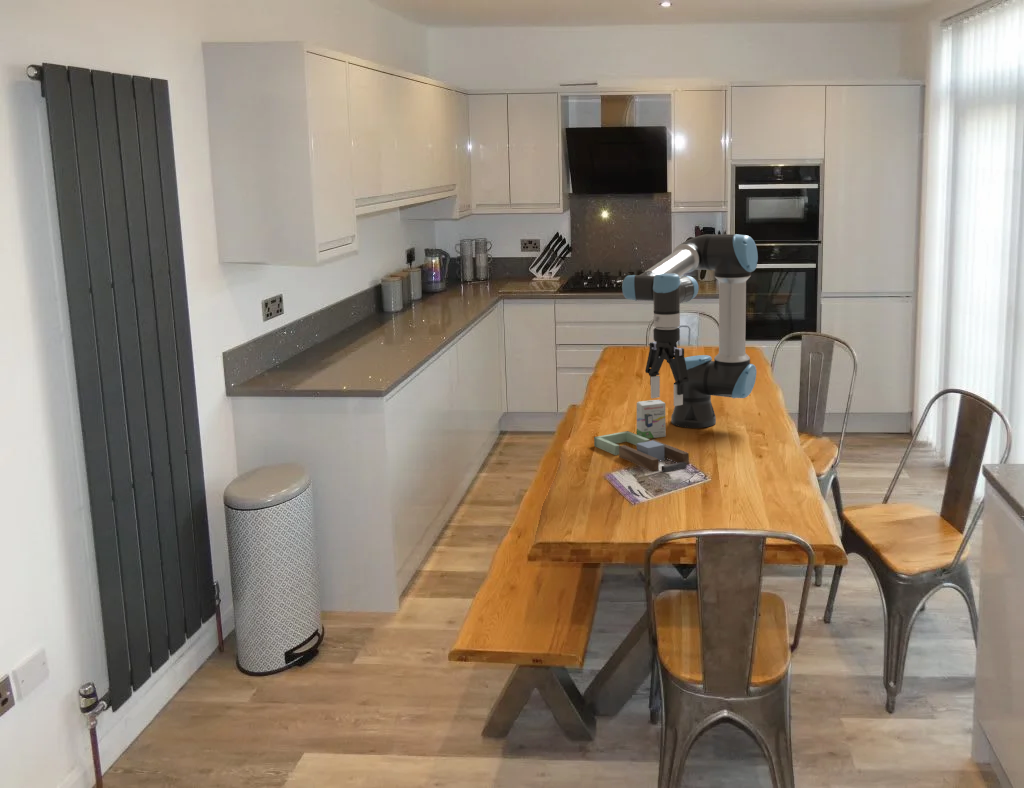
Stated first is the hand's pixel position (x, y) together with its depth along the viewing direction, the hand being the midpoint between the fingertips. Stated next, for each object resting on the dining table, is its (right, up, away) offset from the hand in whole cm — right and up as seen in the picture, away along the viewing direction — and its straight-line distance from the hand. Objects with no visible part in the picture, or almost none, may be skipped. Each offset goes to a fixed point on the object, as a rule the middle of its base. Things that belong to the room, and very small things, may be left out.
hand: (666, 401), depth 297 cm
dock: (-10, -15, +26) cm, 31 cm away
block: (-3, -18, +12) cm, 22 cm away
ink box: (+1, -12, +37) cm, 39 cm away
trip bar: (+2, -20, +1) cm, 20 cm away
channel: (-2, -18, +11) cm, 21 cm away
